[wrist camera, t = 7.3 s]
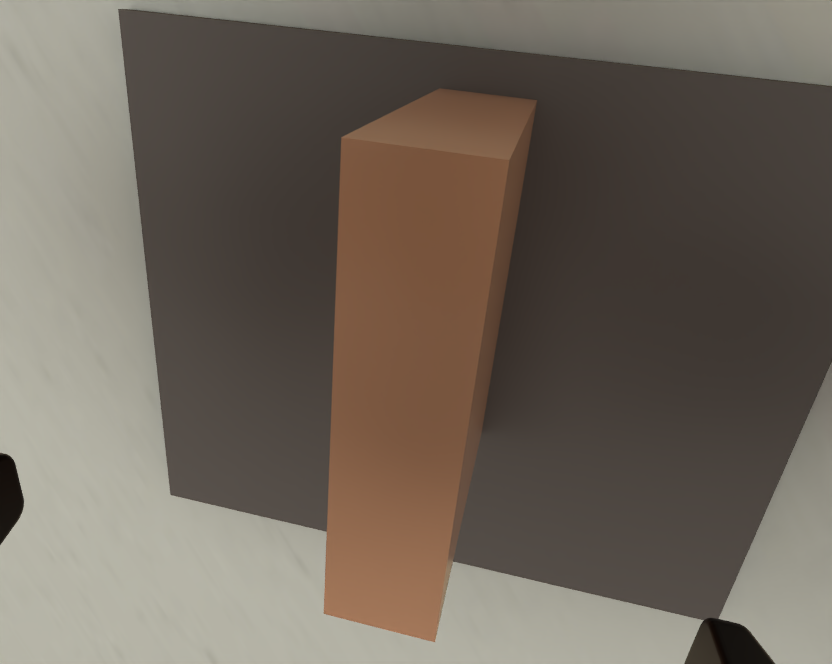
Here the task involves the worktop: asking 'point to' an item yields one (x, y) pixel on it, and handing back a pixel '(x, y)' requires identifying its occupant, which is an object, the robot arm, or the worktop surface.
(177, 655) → the worktop surface
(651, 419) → the rubber mat
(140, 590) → the worktop surface
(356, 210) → the terracotta brick
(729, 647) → the robot arm
